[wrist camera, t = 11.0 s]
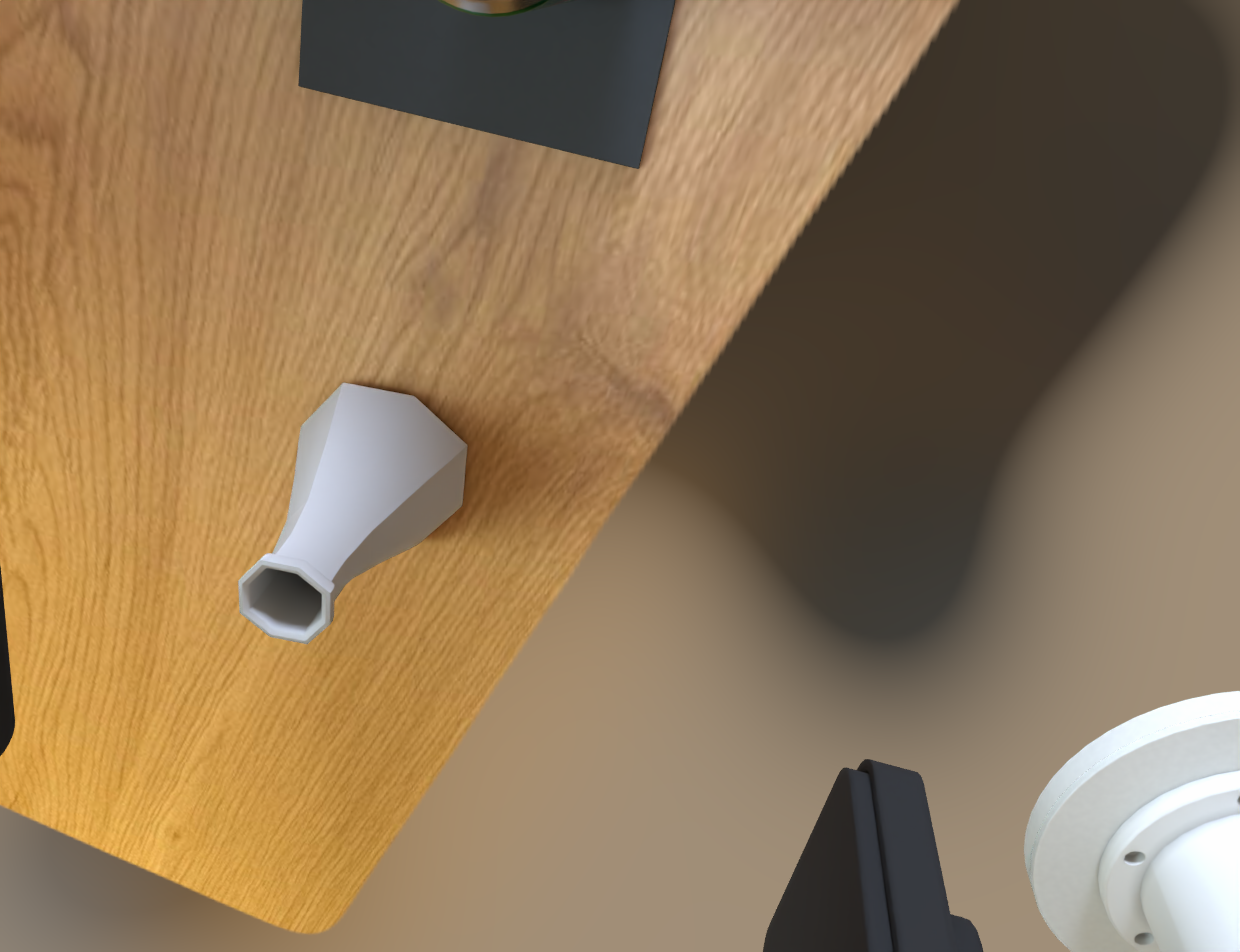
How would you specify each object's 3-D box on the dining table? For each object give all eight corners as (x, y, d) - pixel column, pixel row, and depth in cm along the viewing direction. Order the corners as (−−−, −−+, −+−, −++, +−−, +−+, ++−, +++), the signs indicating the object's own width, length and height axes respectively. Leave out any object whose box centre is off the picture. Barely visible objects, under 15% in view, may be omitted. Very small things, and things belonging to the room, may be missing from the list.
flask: (278, 490, 41) (152, 632, 33) (332, 350, 38) (208, 467, 29) (432, 564, 42) (350, 723, 33) (498, 435, 39) (426, 572, 30)
